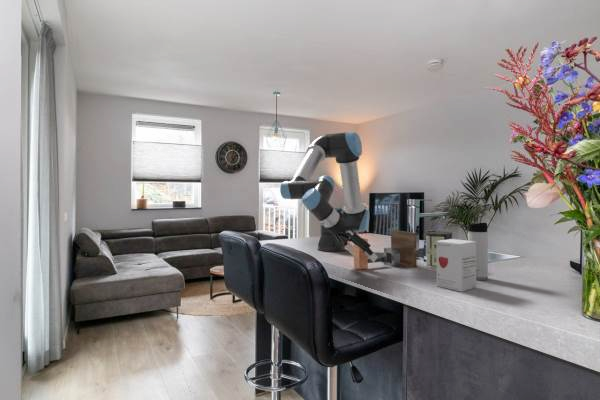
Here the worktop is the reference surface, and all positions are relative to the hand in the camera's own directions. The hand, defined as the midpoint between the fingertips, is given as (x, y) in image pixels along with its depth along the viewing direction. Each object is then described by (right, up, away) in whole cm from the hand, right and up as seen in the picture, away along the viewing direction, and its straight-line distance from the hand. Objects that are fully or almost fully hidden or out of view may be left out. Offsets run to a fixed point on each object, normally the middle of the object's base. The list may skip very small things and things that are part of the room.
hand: (365, 256), depth 147 cm
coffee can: (+31, -5, +2) cm, 31 cm away
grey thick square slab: (+12, -4, +5) cm, 14 cm away
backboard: (+16, -4, +7) cm, 18 cm away
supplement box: (+24, -5, -31) cm, 39 cm away
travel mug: (+36, -5, -20) cm, 42 cm away
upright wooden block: (+2, -4, +1) cm, 5 cm away
